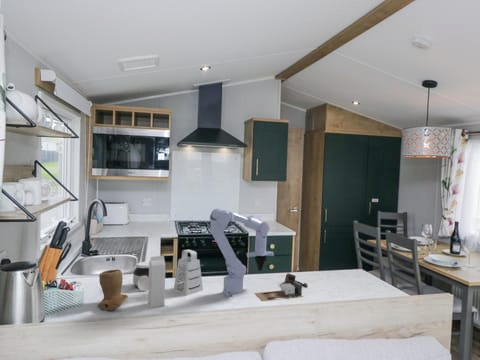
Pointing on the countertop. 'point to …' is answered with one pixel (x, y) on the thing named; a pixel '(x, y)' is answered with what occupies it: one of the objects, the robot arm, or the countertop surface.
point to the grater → (188, 274)
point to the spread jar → (141, 276)
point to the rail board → (280, 294)
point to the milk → (156, 282)
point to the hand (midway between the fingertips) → (259, 270)
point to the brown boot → (111, 289)
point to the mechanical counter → (291, 278)
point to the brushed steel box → (288, 289)
